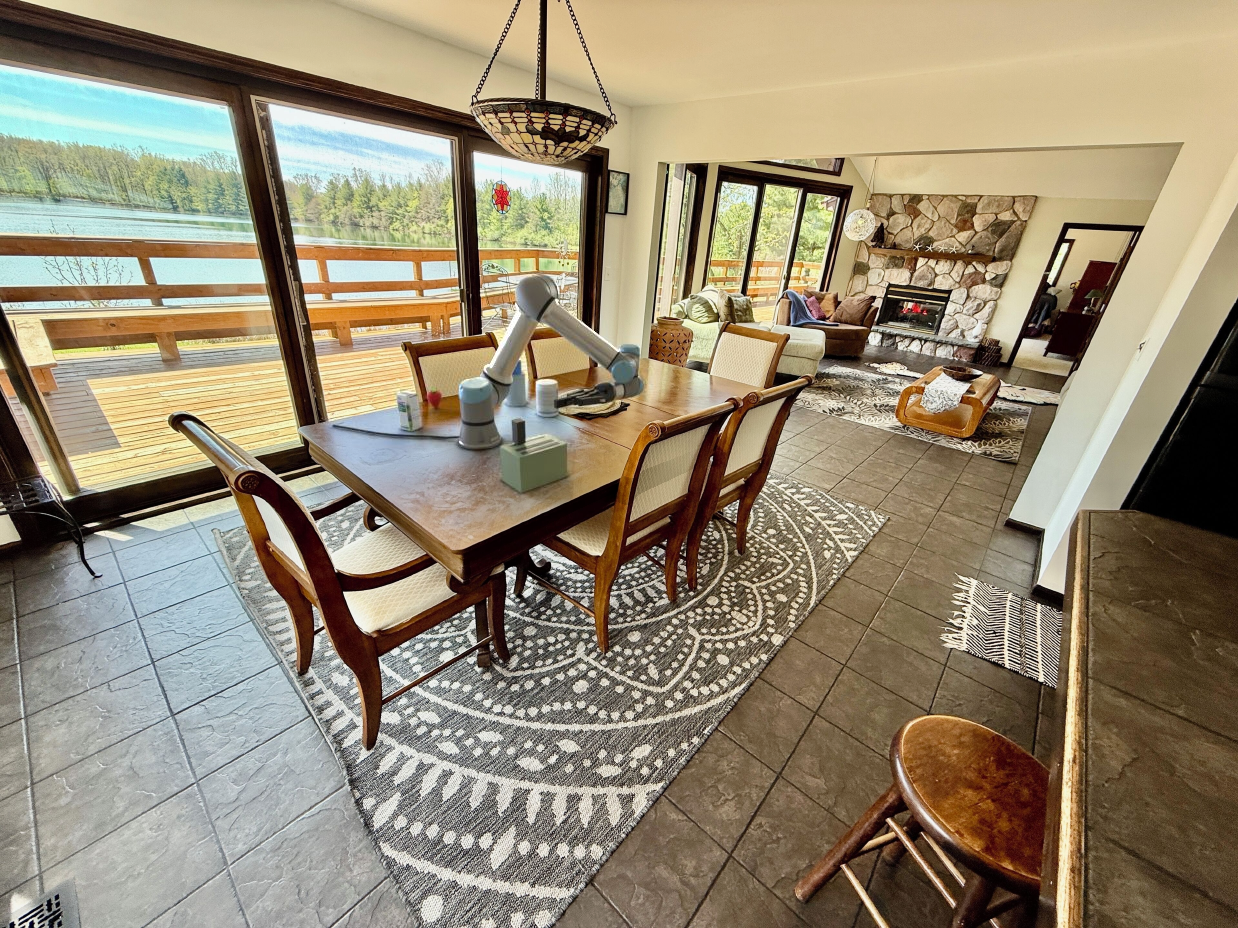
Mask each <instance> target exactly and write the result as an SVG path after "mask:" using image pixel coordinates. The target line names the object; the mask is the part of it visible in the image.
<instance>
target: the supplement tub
mask: <svg viewBox="0 0 1238 928" xmlns="http://www.w3.org/2000/svg"><path fill="white" fill-rule="evenodd" d="M558 383H559V382H558V380H556V379H551V378H546V379H545V378H541V379H538V380H536V381H535V398H536V399H535V400H536V414H537V415H538V416H540V417H543V418H552V417H556V416H557V415H559V408H558V409H556V408H554V400H555V399H559V384H558Z"/></svg>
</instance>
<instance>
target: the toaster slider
mask: <svg viewBox="0 0 1238 928" xmlns="http://www.w3.org/2000/svg"><path fill="white" fill-rule="evenodd" d="M526 432H527V431H526V420H525V419H522V418H521V417H518V418H514V419H511V436H512V443H515V444H517V445H520V444H524V443H526V439H527V433H526Z"/></svg>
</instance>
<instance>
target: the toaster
mask: <svg viewBox="0 0 1238 928" xmlns="http://www.w3.org/2000/svg"><path fill="white" fill-rule="evenodd" d="M499 457H500V472H501V481H502V482H503V483H505V484H507V485H508V486H509V487H511V488H513V489H514V490H515V491H517V492H519V493H520V494H523V493H525V492H528V491H531V490H534V489H537V488H539V487H542V486H544V485H547V484H550V483H553V482H555V481H558V480H562V479H564V478H566V477H568V443H567V442H565V441H563V440H562V439H560V438H557V437H556V436H553V435H552V434H549V433H548V432H545V433H542V434H539V435H534V436H531V437H526V443H524V444H520V445H517V444H515V443H513V442H509V443H506V444H503V445H502V444H501V445H499Z"/></svg>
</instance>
